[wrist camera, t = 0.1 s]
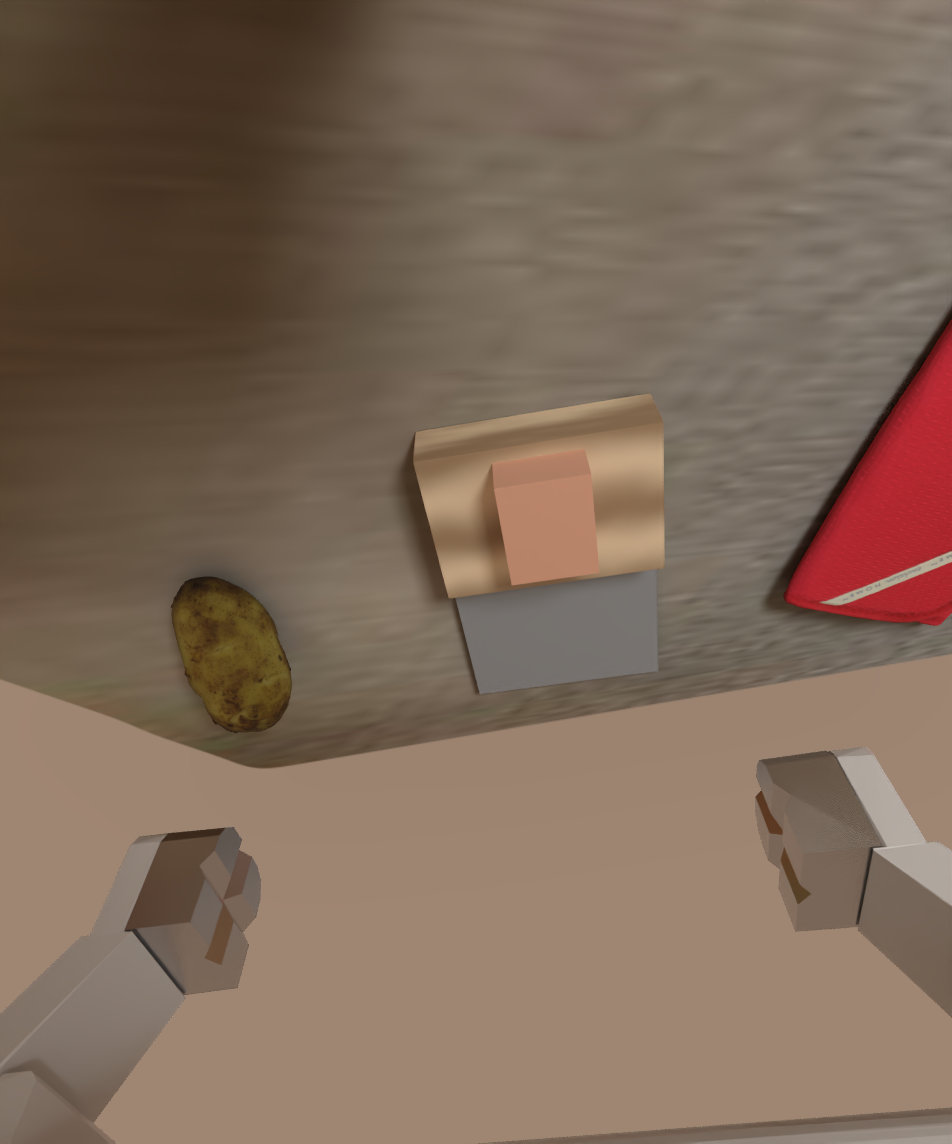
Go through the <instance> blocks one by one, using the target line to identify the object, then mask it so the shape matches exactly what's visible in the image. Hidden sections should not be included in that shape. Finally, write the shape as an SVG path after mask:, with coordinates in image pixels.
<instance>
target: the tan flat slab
mask: <svg viewBox="0 0 952 1144" xmlns="http://www.w3.org/2000/svg"><path fill="white" fill-rule="evenodd" d="M579 449H585V452H586V456H587V460H588V463H589V467H590V471H591V477H592V489H593V501H594V513H595V525H596V538H597V550H598V562H599V573H596V574H589V575H582V576H575V577H568V578H561V579H554V580H547V581H540V582H533V583H526V584H519V585H512V584H511V579H510V573H509V568H508V562H507V557H506V552H505V546H504V541H503V535H502V530H501V525H500V519H499V514H498V508H497V503H496V498H495V492H494V484H493V470H492V463H497V462H504V461H510V460H516V459H522V458H529V457H535V456H541V455H548V454H554V453H560V452H567V451H573V450H579ZM413 464H414V468H415V471H416V475H417V479H418V483H419V487H420V490H421V494H422V498H423V502H424V506H425V510H426V513H427V517H428V521H429V525H430V529H431V533H432V536H433V540H434V544H435V548H436V552H437V555H438V559H439V563H440V567H441V571H442V575H443V578H444V582H445V586H446V590H447V594H448V597H449V599H450V598H457V597H464V596H471V595H478V594H485V593H492V592H499V591H506V590H513V589H520V588H527V587H534V586H541V585H549V584H556V583H563V582H570V581H577V580H584V579H591V578H598V577H605V576H612V575H619V574H626V573H633V572H640V571H647V570H654V569H661V568H664V455H663V421H662V418H661V416H660V414H659V412H658V410H657V407H656V405H655V403H654V401H653V398H652V396H651V394H650V393H649V394H643V395H637V396H631V397H625V398H619V399H613V400H607V401H600V402H594V403H588V404H582V405H576V406H570V407H564V408H558V409H552V410H546V411H540V412H534V413H527V414H521V415H515V416H509V417H503V418H497V419H491V420H485V421H479V422H473V423H467V424H460V425H454V426H448V427H442V428H436V429H430V430H424V431H418V432H416V434H415V446H414V458H413Z"/></svg>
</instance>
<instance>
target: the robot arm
mask: <svg viewBox="0 0 952 1144" xmlns="http://www.w3.org/2000/svg"><path fill="white" fill-rule="evenodd" d="M756 777H757V779H758V782H759V785H760V787H761V791H760V793H759V794H758V795H757V796H756V797H755V805H756V806H755V808H756V818H757V825H758V830H759V834H760V838H761V840H762V844H763V847H764V850H765V853H766V856H767V858H768V860H769V861H770V862H771V863H772V864H774V865H775V866H776V867H778V868H779V869H780V876H779V890H780V893H781V895H782V898H783V901H784V903H785V905H786V908H787V911H788V913H789V916H790V919H791V921H792V924H793V926H794V929H795V931H809V930H822V929H836V928H849V927H858V931H859V932H860V933H861V934H863V935H864V936H865V937H866V938H867V939H868V940H869V941H870V942H871V943H872V944H873V945H874V946H875V947H877V948H878V949H879V950H880V951H881V952H882V953H883V954H884V955H885V956H886V957H887V958H888V959H889V960H890V961H892V962H893V963H894V964H895V965H896V966H897V967H898V968H899V969H900V970H901V971H902V972H903V973H904V974H906V975H907V976H908V977H909V978H910V979H911V980H912V981H913V982H914V983H915V984H916V985H917V986H919V987H920V988H921V989H922V990H923V991H924V992H925V993H926V994H927V995H928V996H929V997H930V998H932V1000H933V1001H935V1002H936V1003H937V1004H938V1005H939V1006H940V1007H941V1008H942V1009H943V1010H944V1011H945V1012H946V1013H947V1014H949V1015H950V1016H951V1017H952V850H950V849H948V848H947V847H946V846H944V845H942V844H941V843H939V842H938V841H937V842H926V841H925V839H924V838H923V836H922V834H921V832H920V831H919V829H918V827H917V826H916V824H915V823H914V821H913V819H912V818H911V816H910V814H909V812H908V811H907V809H906V807H905V806H904V804H903V802H902V801H901V799H900V797H899V796H898V794H897V793H896V791H895V789H894V787H893V786H892V784H891V782H890V781H889V779H888V777H887V776H886V774H885V772H884V771H883V769H882V767H881V766H880V764H879V762H878V761H877V759H876V757H875V756H874V754H873V752H872V751H870V750H869V749H868V748H866V747H858V748H851V749H843V750H834V751H829V752H827V751H821V752H815V753H814V752H813V753H806V754H799V755H792V756H785V757H777V758H770V759H763V760H759V762H758V764H757V774H756ZM241 841H242V839H241V837H240V836H239V835H238V833H237V831H236V830H235V828H234V827H228V828H218V829H207V830H197V831H187V832H177V833H166V834H158V835H149V836H140V837H138V838H137V839H136V840H135V841H134V842H133V843H132V844H131V846H130V847H129V849H128V851H127V854H126V856H125V858H124V860H123V863H122V865H121V867H120V869H119V871H118V874H117V876H116V878H115V881H114V882H113V885H112V887H111V889H110V891H109V894H108V896H107V898H106V900H105V903H104V905H103V907H102V909H101V911H100V913H99V916H98V918H97V920H96V923H95V925H94V927H93V929H92V931H91V933H90V935H89V936H82V937H80V938H79V939H78V940H77V941H76V942H75V943H74V944H73V945H71V946H70V947H69V948H68V949H67V950H66V951H65V952H64V953H63V954H62V955H61V956H60V957H59V958H58V959H57V960H56V961H55V962H54V963H53V964H52V965H51V966H50V967H49V968H47V969H46V970H45V971H44V972H43V973H42V974H41V975H40V976H39V977H38V978H37V979H36V980H35V981H34V982H33V983H32V984H31V985H30V986H29V987H28V988H27V989H26V990H25V991H24V992H22V994H20V995H19V996H18V997H17V998H16V999H15V1000H14V1001H13V1002H12V1003H11V1004H10V1005H9V1006H8V1007H7V1008H6V1009H5V1010H4V1011H3V1012H2V1013H1V1014H0V1144H115V1141H114V1140H112V1139H111V1138H110V1137H109V1136H108V1135H106V1134H105V1133H104V1132H103V1131H102V1130H101V1129H99V1128H98V1127H97V1126H96V1125H95V1124H94V1121H95V1120H96V1119H97V1117H98V1116H99V1115H100V1113H101V1112H102V1111H103V1109H104V1108H105V1107H106V1105H107V1104H108V1102H109V1101H110V1100H111V1098H112V1097H113V1096H114V1094H115V1093H116V1092H117V1090H118V1089H119V1088H120V1086H121V1085H122V1084H123V1082H124V1081H125V1080H126V1078H127V1077H128V1075H129V1074H130V1073H131V1071H132V1070H133V1069H134V1067H135V1066H136V1065H137V1063H138V1062H139V1061H140V1059H141V1057H142V1056H143V1055H144V1054H145V1052H146V1051H147V1050H148V1048H149V1047H150V1046H151V1044H152V1043H153V1041H154V1040H155V1039H156V1038H157V1036H158V1035H159V1034H160V1032H161V1031H162V1029H163V1028H164V1027H165V1025H166V1024H167V1023H168V1021H169V1020H170V1018H171V1017H172V1016H173V1014H174V1013H175V1012H176V1011H177V1009H178V1008H179V1006H180V1005H181V1004H182V1002H183V1001H184V999H185V996H184V995H189V994H196V993H204V992H211V991H219V990H226V989H234V988H238V984H239V980H240V976H241V973H242V969H243V965H244V962H245V958H246V954H247V950H248V946H249V944H248V942H247V940H246V938H245V935H244V933H243V931H244V930H245V929H246V928H247V927H248V926H249V925H250V923H251V922H252V921H253V920H254V919H255V918H256V915H257V911H258V907H259V903H260V890H261V879H260V875H259V872H258V867H257V865H256V863H255V861H254V860H253V858H252V857H251V856H249V855H247V854H246V853H244V852H242V851H240V850H239V848H240V845H241ZM479 1144H480V1143H479ZM481 1144H952V1108H939V1109H925V1110H913V1111H899V1112H886V1113H874V1114H861V1115H860V1114H859V1115H848V1116H847V1115H846V1116H835V1117H834V1116H833V1117H821V1118H807V1119H794V1120H781V1121H768V1122H756V1123H742V1124H728V1125H715V1126H703V1127H690V1128H677V1129H664V1130H651V1131H638V1132H624V1133H611V1134H598V1135H585V1136H571V1137H558V1138H546V1139H533V1140H519V1141H506V1142H493V1143H481Z"/></svg>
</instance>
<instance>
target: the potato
mask: <svg viewBox="0 0 952 1144" xmlns="http://www.w3.org/2000/svg"><path fill="white" fill-rule="evenodd" d="M171 608H172V622H173V626H174V631H175V635H176V639H177V643H178V646H179V650H180V653H181V657H182V661H183V664H184V668H185V675H186V676H187V678H188V681H189V684H190V686H191V687H192V689H193V690H194V692H195V693H196V694H198V695H199V696H200V697H202V699H203V701H204V704H205V707H206V710H207V712H208V714H209V715H210V717H211V718H212V720H213V722H214V723H215V724H218V725H220V726H222V727H223V728H225V729H226V730H228V731H231V732H233V731H234V733H237V732H257V731H263V730H265V729H268V728H270V727H272V726H273V725H275V724H276V723H277V722H278V721H279V720H280V719H281V717H282V715H283V714H284V712H285V710H286V708H287V706H288V703H289V699H290V695H291V688H292V681H291V672H290V671H291V668H290V666H289V663H288V660H287V658H286V655H285V652H284V650H283V648H282V646H281V644H280V642H279V639H278V634H277V629H276V626H275V623H274V621H273V620H272V618H271V616H270V615H269V613H268V612H267V611H266V609H265V608H264V607H263V605H262V604H261V603H260V602H259V601H258V600H257V599H256V598H255V597H253V596H252V595H251V594H249V593H248V592H247V591H245V590H243V589H242V588H240V587H238V586H236V585H233V584H231V583H229V582H227V581H225V580H222V579H220V578H216V577H199V578H193V579H190V580H187V581H185V583H184V584H183V585H182V586H181V588H180V589H179V591H178V593H177V595H176V596H175V597H174V601H173V604H172V606H171Z"/></svg>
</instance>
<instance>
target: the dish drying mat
mask: <svg viewBox="0 0 952 1144" xmlns="http://www.w3.org/2000/svg"><path fill="white" fill-rule="evenodd" d="M784 599H785V601H786V602H787V603H789V604H793V605H795V606H798V607H801V608H806V609H813V610H819V611H825V612H829V613H836V614H840V615H846V616H853V617H858V618H865V619H871V620H880V621H889V622H914V621H916V622H919V623H923V624H928V625H933V626H938V625H940V624H941V623H942V622H943V621H944V620H945V619H946V618H947V617H948V616H949V615H950V614H951V613H952V319H951V321H950V322H949V324H948V325H947V327H946V329H945V330H944V332H943V333H942V335H941V336H940V338H939V339H938V341H937V342H936V344H935V346H934V348H933V349H932V351H931V352H930V354H929V355H928V357H927V359H926V360H925V362H924V364H923V365H922V367H921V368H920V370H919V371H918V373H917V374H916V376H915V377H914V379H913V380H912V381H911V383H910V384H909V386H908V387H907V389H906V390H905V392H904V393H903V395H902V396H901V398H900V399H899V401H898V402H897V404H896V405H895V407H894V408H893V410H892V411H891V413H890V415H889V416H888V418H887V419H886V421H885V422H884V424H883V425H882V427H881V428H880V430H879V432H878V433H877V435H876V437H875V438H874V440H873V442H872V443H871V445H870V446H869V448H868V450H867V451H866V453H865V454H864V456H863V457H862V459H861V460H860V462H859V464H858V465H857V467H856V468H855V470H854V472H853V474H852V475H851V477H850V479H849V481H848V482H847V484H846V486H845V487H844V489H843V490H842V492H841V494H840V495H839V497H838V499H837V500H836V502H835V504H834V505H833V507H832V509H831V510H830V512H829V514H828V515H827V517H826V519H825V521H824V522H823V524H822V526H821V527H820V529H819V531H818V532H817V534H816V536H815V537H814V539H813V541H812V543H811V545H810V546H809V548H808V549H807V551H806V553H805V554H804V556H803V558H802V559H801V561H800V563H799V565H798V567H797V568H796V570H795V572H794V574H793V576H792V578H791V580H790V583H789V585H788V588H787V590H786V592H785V593H784Z"/></svg>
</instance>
